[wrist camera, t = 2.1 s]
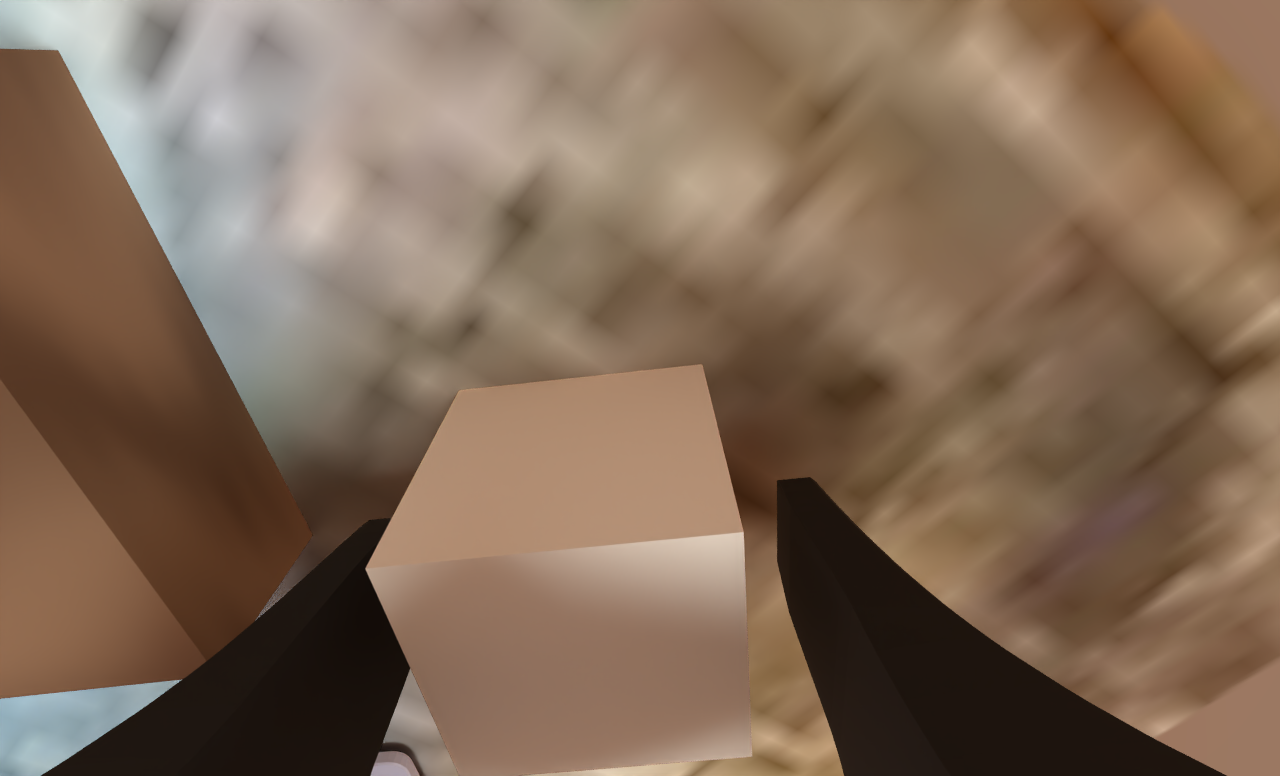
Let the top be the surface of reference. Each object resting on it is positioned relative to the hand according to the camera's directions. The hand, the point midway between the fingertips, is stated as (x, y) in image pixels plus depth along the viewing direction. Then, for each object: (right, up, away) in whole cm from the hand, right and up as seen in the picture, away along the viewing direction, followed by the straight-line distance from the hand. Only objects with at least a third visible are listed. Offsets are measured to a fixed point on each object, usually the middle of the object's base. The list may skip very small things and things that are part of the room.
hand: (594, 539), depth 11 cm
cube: (0, +1, +2) cm, 2 cm away
